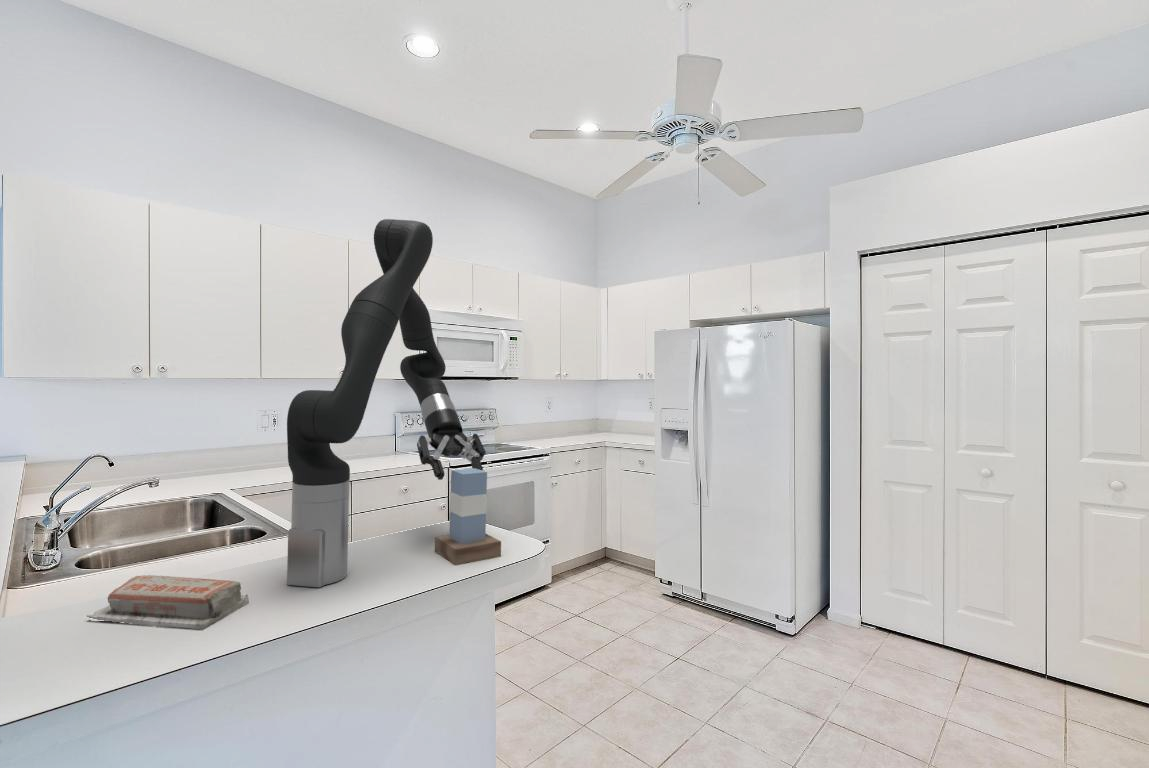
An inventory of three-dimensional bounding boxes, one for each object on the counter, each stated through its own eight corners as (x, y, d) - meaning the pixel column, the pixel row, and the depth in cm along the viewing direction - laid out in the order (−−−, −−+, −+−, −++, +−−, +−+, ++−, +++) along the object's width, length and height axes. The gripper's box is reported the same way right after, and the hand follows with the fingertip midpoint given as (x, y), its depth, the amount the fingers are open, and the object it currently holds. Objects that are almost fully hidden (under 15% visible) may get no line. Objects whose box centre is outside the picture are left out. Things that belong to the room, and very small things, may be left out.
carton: (485, 540, 112) (487, 472, 112) (461, 544, 108) (463, 474, 108) (473, 533, 116) (474, 468, 116) (449, 537, 113) (450, 470, 112)
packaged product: (252, 574, 86) (203, 599, 76) (251, 604, 86) (202, 633, 76) (147, 567, 87) (85, 590, 77) (146, 597, 87) (85, 624, 77)
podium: (500, 556, 111) (501, 541, 111) (455, 565, 105) (455, 549, 105) (478, 543, 119) (478, 529, 119) (434, 551, 113) (435, 536, 113)
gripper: (414, 407, 118) (434, 467, 109) (474, 407, 126) (497, 463, 117) (405, 429, 122) (423, 489, 113) (464, 427, 131) (484, 483, 122)
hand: (460, 475), depth 115 cm, fingers open, 8 cm apart
